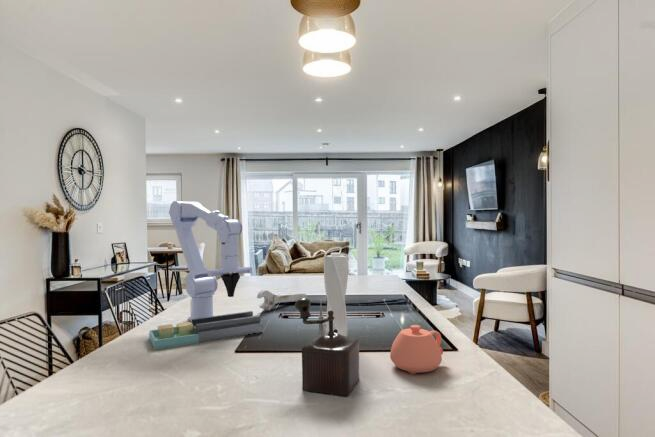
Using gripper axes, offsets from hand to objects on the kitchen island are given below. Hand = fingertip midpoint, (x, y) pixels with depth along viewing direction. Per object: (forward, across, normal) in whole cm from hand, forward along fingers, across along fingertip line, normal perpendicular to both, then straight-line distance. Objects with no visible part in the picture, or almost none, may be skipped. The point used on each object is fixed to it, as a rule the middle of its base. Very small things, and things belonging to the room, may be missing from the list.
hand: (230, 296), depth 139 cm
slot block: (+10, -3, -5) cm, 12 cm away
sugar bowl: (+11, +29, -59) cm, 66 cm away
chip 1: (+8, -19, -5) cm, 21 cm away
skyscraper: (+11, +22, -31) cm, 39 cm away
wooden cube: (+10, -16, -5) cm, 19 cm away
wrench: (+11, +28, +21) cm, 37 cm away
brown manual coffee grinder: (+11, +4, -55) cm, 56 cm away
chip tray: (+10, -19, -5) cm, 22 cm away
